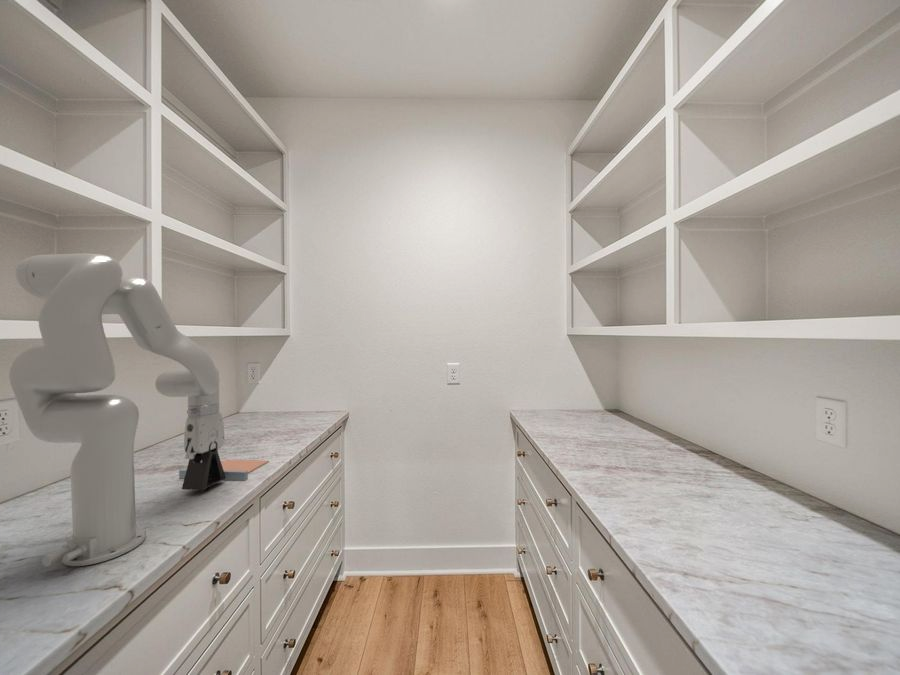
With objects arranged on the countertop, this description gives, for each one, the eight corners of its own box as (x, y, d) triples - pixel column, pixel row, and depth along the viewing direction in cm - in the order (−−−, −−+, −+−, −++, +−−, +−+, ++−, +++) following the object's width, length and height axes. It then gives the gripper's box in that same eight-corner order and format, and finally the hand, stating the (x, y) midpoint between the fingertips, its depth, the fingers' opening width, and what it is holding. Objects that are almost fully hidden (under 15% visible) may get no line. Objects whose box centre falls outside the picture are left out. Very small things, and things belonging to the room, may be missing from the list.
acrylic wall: (245, 480, 111) (244, 472, 111) (179, 478, 114) (179, 470, 114) (247, 479, 112) (247, 471, 112) (182, 476, 115) (182, 468, 115)
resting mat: (243, 476, 114) (242, 475, 114) (196, 474, 116) (196, 473, 116) (268, 461, 127) (268, 460, 127) (226, 460, 129) (226, 459, 129)
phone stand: (201, 490, 101) (200, 446, 101) (181, 489, 102) (181, 445, 102) (225, 478, 110) (225, 437, 110) (207, 477, 111) (207, 437, 111)
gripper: (193, 415, 98) (193, 486, 97) (235, 405, 113) (235, 466, 113) (168, 415, 99) (168, 485, 98) (212, 405, 114) (213, 465, 114)
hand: (204, 474), depth 106 cm, fingers closed on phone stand, 1 cm apart
